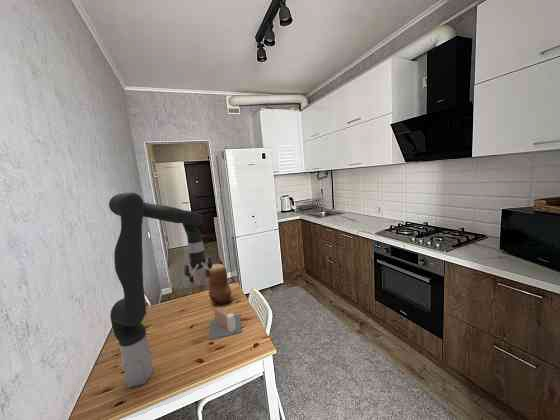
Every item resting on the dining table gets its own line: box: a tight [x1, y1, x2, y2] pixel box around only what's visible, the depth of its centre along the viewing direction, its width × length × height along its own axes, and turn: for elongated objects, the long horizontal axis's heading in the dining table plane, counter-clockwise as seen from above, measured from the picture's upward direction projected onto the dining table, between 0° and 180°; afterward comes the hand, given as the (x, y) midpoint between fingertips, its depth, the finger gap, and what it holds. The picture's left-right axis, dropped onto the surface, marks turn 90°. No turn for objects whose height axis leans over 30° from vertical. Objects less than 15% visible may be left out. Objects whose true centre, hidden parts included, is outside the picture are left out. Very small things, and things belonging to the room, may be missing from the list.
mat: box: [208, 313, 243, 341], centre depth 120 cm, size 16×16×1 cm
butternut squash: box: [208, 263, 232, 305], centre depth 144 cm, size 14×13×25 cm
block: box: [213, 306, 236, 332], centre depth 119 cm, size 3×8×14 cm
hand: (200, 279), depth 120 cm, fingers open, 8 cm apart
